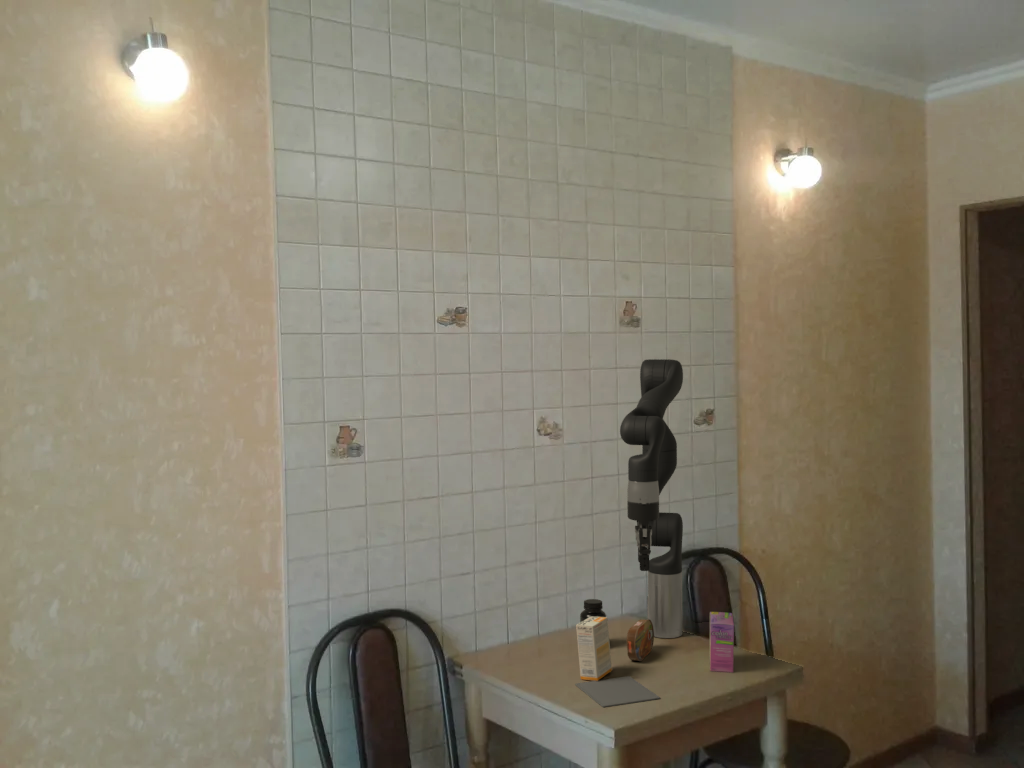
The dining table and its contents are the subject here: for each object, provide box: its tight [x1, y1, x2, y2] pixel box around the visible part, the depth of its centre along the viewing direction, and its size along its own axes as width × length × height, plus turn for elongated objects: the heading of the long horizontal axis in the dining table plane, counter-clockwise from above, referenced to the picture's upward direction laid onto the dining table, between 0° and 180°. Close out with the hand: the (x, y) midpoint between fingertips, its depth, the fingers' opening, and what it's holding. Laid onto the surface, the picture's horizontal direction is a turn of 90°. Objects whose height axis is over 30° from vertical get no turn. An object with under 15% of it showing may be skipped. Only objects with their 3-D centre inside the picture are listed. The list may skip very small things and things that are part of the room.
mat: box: [574, 675, 661, 708], centre depth 212 cm, size 15×14×1 cm
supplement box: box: [575, 616, 613, 681], centre depth 223 cm, size 8×5×13 cm, turn 149°
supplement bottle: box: [579, 598, 607, 623], centre depth 245 cm, size 7×7×12 cm
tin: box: [626, 619, 655, 662], centre depth 238 cm, size 15×3×8 cm, turn 154°
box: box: [709, 611, 735, 674], centre depth 229 cm, size 10×6×12 cm, turn 168°
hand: (643, 566), depth 224 cm, fingers open, 8 cm apart
